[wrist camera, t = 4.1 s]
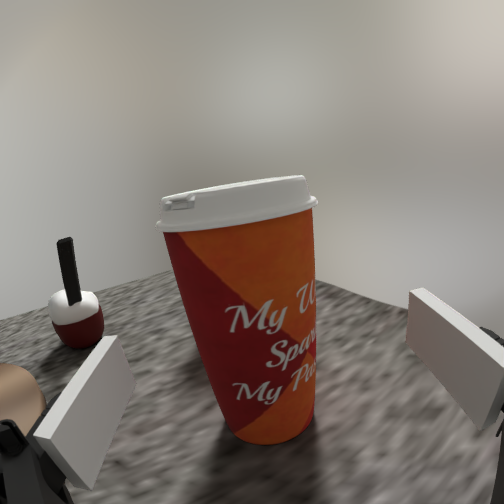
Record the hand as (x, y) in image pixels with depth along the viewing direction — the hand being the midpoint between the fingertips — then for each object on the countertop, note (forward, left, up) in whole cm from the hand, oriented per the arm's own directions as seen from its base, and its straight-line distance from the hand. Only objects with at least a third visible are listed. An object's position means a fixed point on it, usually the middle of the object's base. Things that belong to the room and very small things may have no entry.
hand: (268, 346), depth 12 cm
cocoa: (-26, -3, -8) cm, 27 cm away
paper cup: (-3, +2, -8) cm, 8 cm away
